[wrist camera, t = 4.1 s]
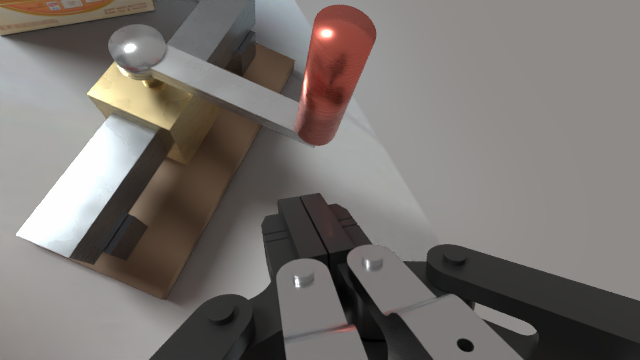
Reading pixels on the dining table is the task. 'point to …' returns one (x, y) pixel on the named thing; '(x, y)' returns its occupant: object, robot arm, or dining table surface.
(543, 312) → the robot arm
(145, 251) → the board
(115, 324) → the dining table surface
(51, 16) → the coffeecake box
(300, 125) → the lever
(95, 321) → the dining table surface
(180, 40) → the pipe valve
